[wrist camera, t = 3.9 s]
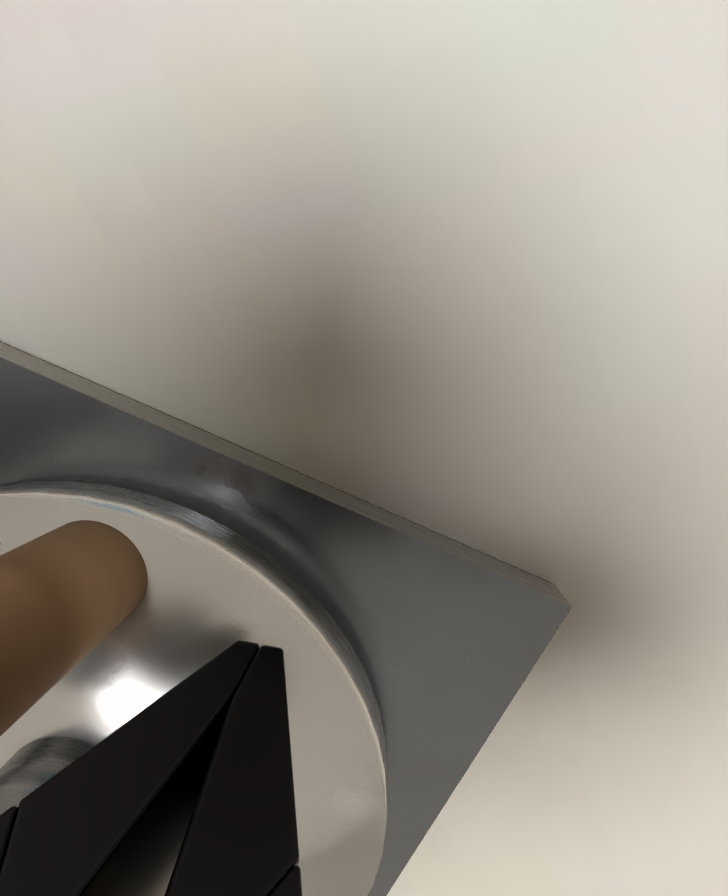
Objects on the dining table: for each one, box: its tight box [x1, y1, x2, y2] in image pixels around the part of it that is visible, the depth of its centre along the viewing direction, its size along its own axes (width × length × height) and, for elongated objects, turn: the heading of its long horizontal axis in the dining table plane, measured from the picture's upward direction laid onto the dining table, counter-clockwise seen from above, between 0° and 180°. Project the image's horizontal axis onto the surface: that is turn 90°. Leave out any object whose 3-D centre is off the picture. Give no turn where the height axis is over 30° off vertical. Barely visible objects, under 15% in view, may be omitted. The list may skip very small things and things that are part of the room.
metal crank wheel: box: [0, 481, 387, 896], centre depth 8 cm, size 16×18×5 cm
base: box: [0, 342, 571, 896], centre depth 10 cm, size 19×19×4 cm
